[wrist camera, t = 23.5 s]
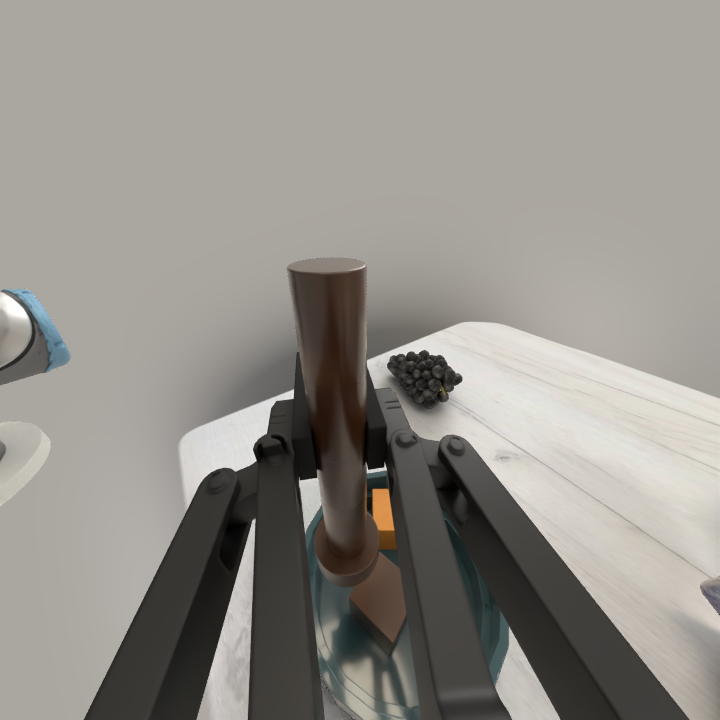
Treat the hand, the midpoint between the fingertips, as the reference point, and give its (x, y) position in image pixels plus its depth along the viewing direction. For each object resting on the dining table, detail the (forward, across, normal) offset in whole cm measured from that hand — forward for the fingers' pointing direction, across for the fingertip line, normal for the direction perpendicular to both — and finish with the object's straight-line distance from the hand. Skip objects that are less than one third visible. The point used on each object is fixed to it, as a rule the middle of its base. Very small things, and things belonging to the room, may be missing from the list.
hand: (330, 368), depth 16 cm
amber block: (-1, +5, -21) cm, 21 cm away
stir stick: (-6, 0, -10) cm, 12 cm away
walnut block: (-7, +3, -21) cm, 22 cm away
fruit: (+22, +16, -22) cm, 34 cm away
